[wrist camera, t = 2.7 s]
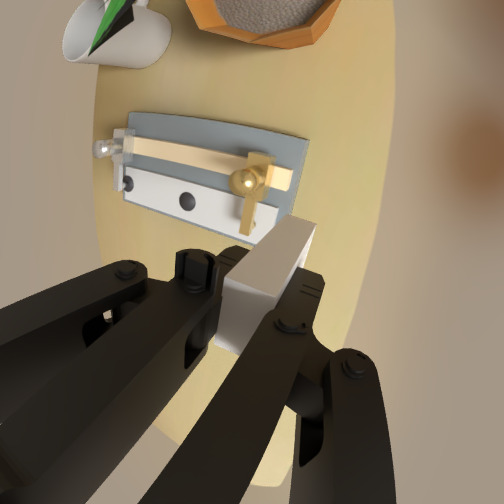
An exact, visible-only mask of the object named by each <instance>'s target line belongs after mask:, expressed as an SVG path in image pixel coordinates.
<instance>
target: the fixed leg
mask: <svg viewBox="0 0 504 504" xmlns="http://www.w3.org/2000/svg"><path fill="white" fill-rule="evenodd" d="M135 130H136V129H130V128H118V129H114V134H113V138H112V139H105V140H98V141H95V142H94V144H93V147H92V152H93V155H94V157H95V158H102V157H107V156H112V161H114V176H113V190H115V191H121V190H122V189H123V188H126V187H128V182H127V181H125V182H123V163H126V162H131V161H133V150H134V139H135Z"/></svg>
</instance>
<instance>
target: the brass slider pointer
mask: <svg viewBox="0 0 504 504" xmlns="http://www.w3.org/2000/svg"><path fill="white" fill-rule="evenodd" d="M276 157H277V156H274V155H270V154H266V153H262V152H258V151H253V152H249V153H248V158H247V163H246V168H243V169H240V170H237V171H234V172H233V173H232V174H231V175H230V176H229V179H228V185H229V188H230V190H231V191H232V192H233V193H234V194H236V195H238V196H244V197H245V202H244V207H243V212H242V218H241V223H240V228H239V233H240V234H243V235H246V236H249V235H250V234H251V232H252V229H253V228H255V227H256V222H255V221H254V217H255V213H256V208H257V203H258V201H260V202H261V201H263V200H264V199H266V198H267V197H268V193H269V189H270V184H271V180H272V175H273V171H274V166H275V162H276Z"/></svg>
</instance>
